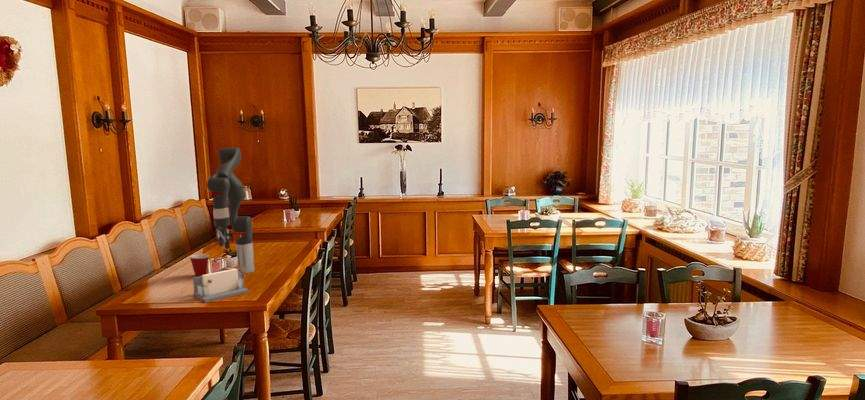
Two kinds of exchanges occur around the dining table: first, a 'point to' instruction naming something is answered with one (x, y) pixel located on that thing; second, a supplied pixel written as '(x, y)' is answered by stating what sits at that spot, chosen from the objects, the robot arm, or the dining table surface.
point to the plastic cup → (199, 264)
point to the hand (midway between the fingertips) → (224, 247)
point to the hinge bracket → (205, 297)
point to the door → (221, 281)
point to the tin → (240, 271)
